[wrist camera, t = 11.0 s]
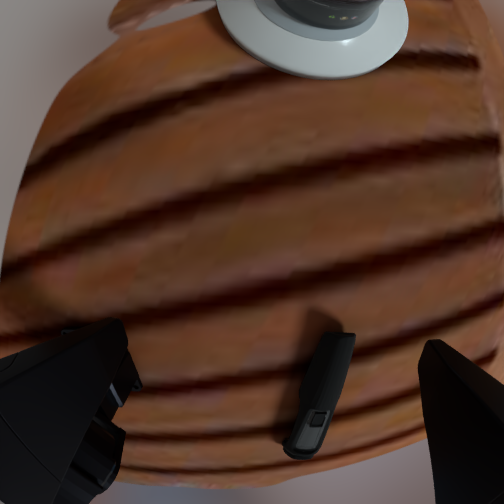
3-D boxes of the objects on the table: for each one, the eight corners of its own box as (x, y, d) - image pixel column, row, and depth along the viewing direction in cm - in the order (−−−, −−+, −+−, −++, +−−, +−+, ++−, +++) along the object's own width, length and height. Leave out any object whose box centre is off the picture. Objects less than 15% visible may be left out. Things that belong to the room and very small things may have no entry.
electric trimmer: (362, 318, 21) (375, 339, 18) (315, 444, 25) (318, 467, 22) (315, 314, 21) (322, 336, 18) (279, 443, 25) (280, 467, 22)
